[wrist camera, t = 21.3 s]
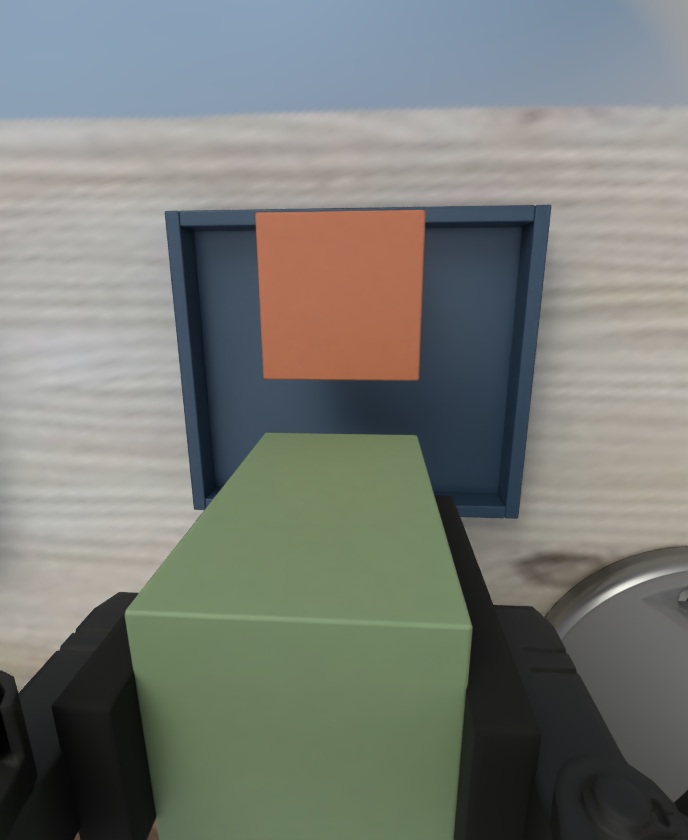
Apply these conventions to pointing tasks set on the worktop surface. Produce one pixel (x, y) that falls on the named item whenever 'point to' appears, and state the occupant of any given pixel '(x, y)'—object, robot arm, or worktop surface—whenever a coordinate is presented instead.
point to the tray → (371, 399)
